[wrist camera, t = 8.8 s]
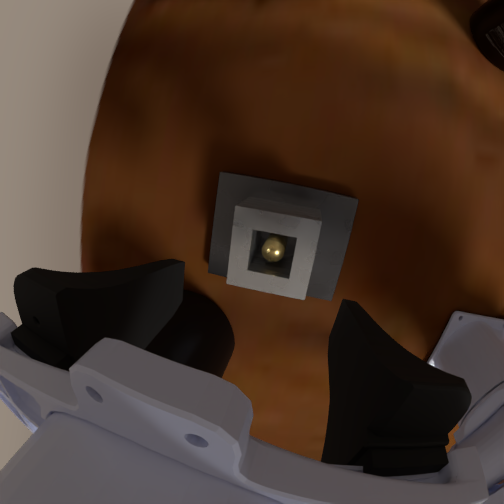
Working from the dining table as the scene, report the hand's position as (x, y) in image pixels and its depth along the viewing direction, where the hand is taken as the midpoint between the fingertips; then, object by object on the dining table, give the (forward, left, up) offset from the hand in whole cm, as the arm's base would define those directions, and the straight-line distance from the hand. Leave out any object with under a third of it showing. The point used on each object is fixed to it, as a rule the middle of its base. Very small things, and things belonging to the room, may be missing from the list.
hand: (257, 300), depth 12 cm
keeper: (0, 0, -10) cm, 10 cm away
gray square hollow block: (0, 0, -9) cm, 9 cm away
